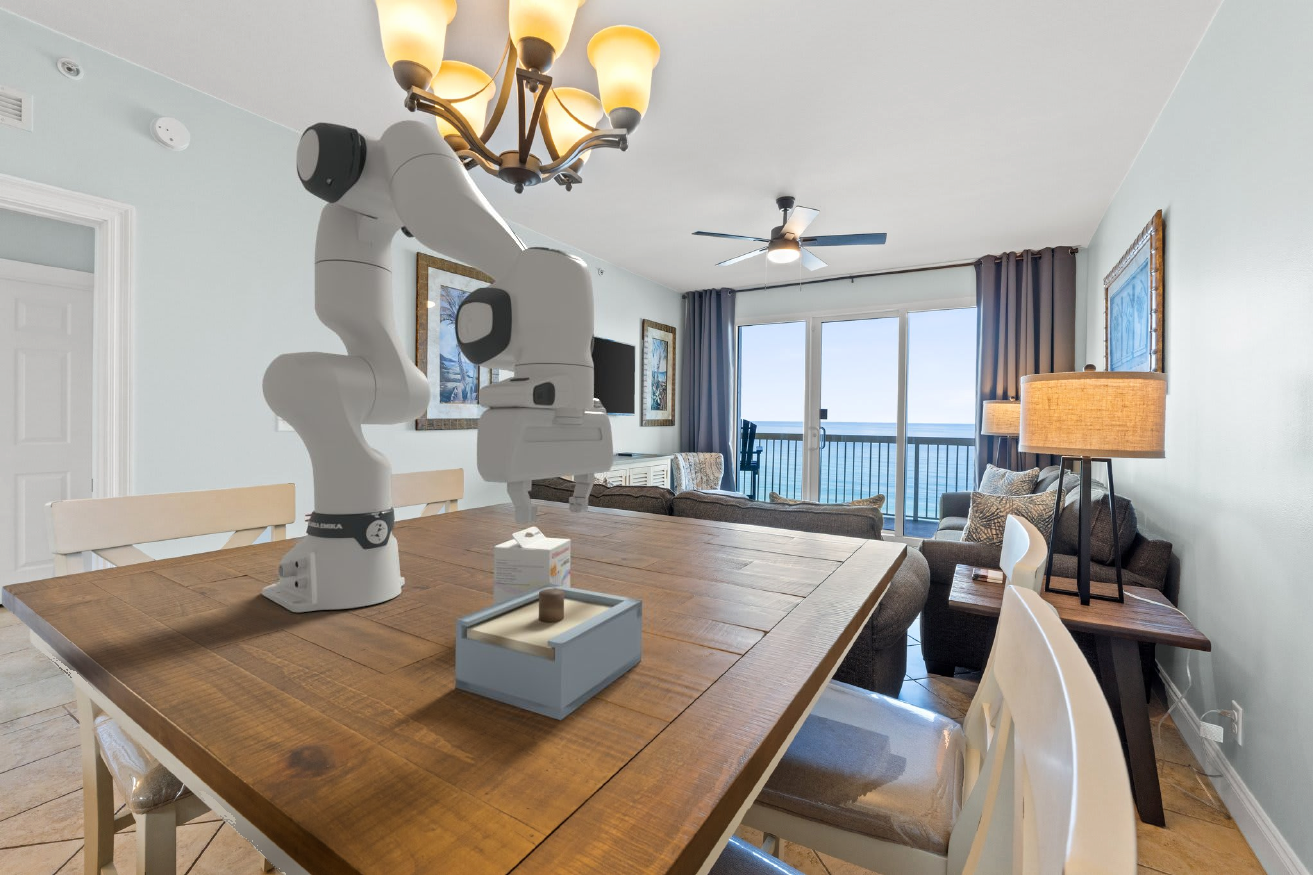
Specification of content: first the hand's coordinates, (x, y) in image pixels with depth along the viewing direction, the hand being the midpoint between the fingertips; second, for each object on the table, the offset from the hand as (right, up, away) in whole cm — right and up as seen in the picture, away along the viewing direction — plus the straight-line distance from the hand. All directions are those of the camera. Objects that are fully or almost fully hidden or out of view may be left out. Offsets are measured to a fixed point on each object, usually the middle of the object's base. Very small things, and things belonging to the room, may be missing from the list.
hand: (554, 517), depth 64 cm
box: (0, -18, +1) cm, 18 cm away
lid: (0, -13, 0) cm, 13 cm away
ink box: (-6, -18, +18) cm, 26 cm away
